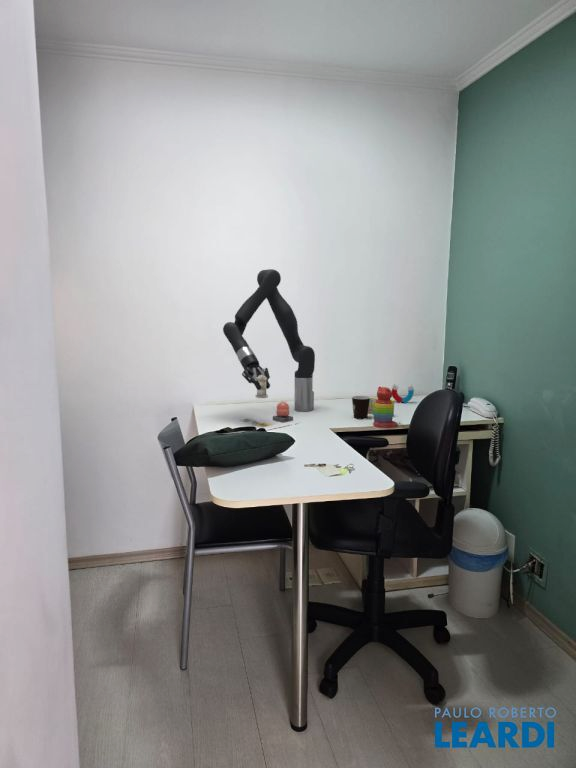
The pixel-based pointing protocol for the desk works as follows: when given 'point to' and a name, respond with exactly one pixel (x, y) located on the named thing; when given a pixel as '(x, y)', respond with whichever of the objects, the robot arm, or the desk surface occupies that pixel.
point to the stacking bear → (384, 409)
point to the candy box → (371, 405)
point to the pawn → (262, 391)
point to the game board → (262, 424)
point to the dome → (282, 409)
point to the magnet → (402, 399)
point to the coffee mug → (360, 406)
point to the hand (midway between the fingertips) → (264, 388)
